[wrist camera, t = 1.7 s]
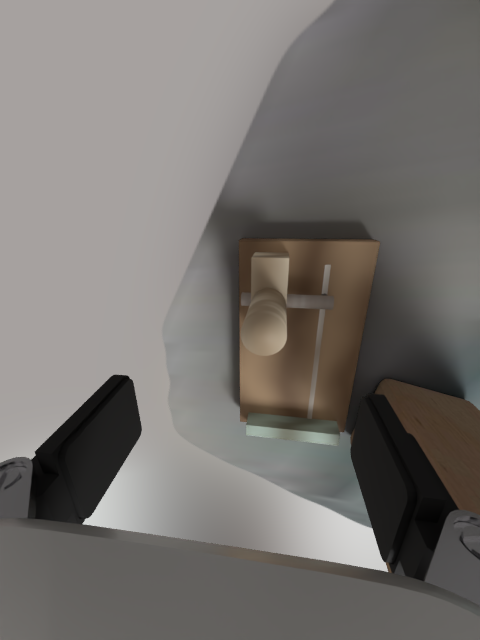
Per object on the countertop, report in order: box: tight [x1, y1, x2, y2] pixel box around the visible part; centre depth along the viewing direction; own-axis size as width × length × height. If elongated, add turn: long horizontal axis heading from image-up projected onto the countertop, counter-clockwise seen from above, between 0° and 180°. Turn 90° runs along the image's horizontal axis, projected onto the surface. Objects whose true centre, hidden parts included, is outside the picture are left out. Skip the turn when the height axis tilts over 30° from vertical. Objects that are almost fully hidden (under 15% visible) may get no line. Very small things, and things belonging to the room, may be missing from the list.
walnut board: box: [239, 238, 380, 445], centre depth 27 cm, size 12×21×4 cm, turn 1°
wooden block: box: [351, 379, 480, 573], centre depth 21 cm, size 10×10×20 cm
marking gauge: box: [241, 252, 334, 356], centre depth 21 cm, size 8×8×9 cm
